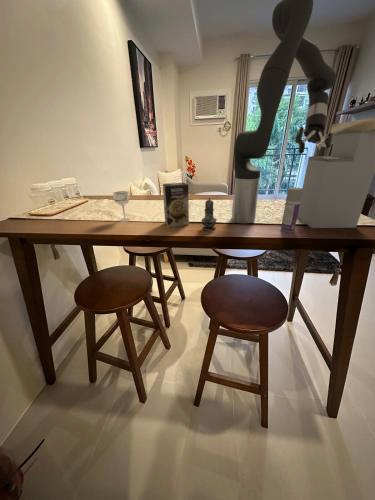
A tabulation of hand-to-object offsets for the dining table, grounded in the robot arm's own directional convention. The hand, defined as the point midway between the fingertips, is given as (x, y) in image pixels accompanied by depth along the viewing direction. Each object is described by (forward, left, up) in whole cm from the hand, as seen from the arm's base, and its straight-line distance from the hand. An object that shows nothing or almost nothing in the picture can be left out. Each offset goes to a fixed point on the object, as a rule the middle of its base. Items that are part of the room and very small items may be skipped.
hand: (311, 155), depth 89 cm
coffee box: (-56, -16, -24) cm, 63 cm away
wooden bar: (+7, -12, +8) cm, 16 cm away
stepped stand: (+3, -15, -24) cm, 29 cm away
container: (-14, -24, -24) cm, 37 cm away
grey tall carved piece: (-43, -22, -24) cm, 54 cm away
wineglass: (-80, -10, -24) cm, 84 cm away
